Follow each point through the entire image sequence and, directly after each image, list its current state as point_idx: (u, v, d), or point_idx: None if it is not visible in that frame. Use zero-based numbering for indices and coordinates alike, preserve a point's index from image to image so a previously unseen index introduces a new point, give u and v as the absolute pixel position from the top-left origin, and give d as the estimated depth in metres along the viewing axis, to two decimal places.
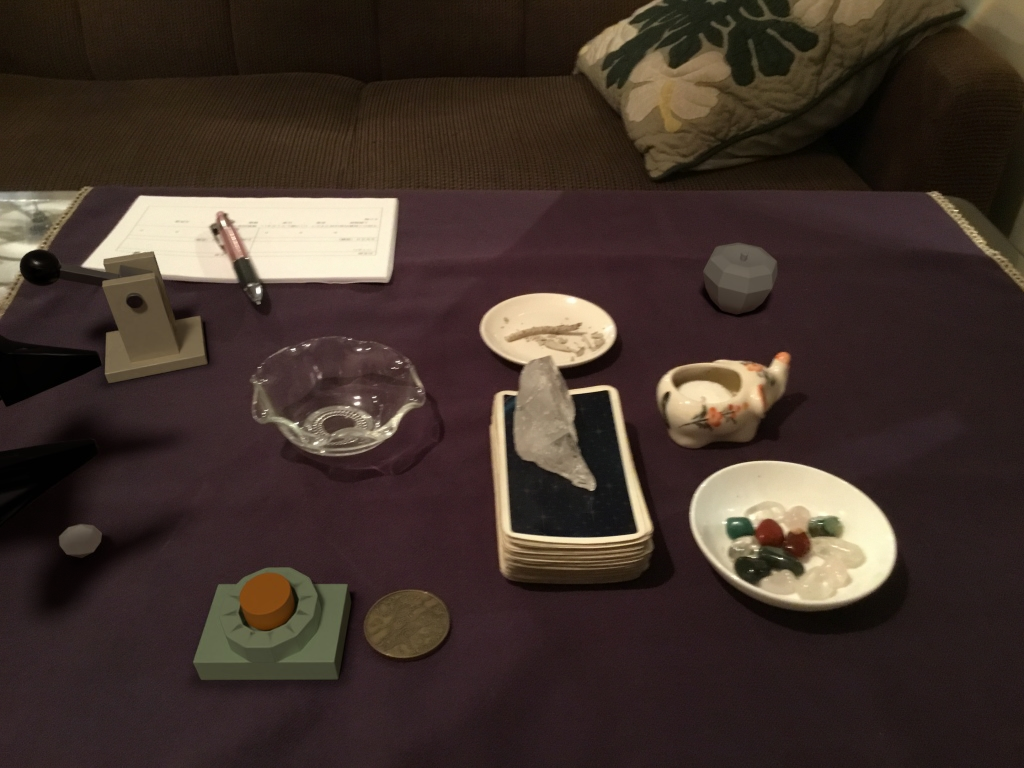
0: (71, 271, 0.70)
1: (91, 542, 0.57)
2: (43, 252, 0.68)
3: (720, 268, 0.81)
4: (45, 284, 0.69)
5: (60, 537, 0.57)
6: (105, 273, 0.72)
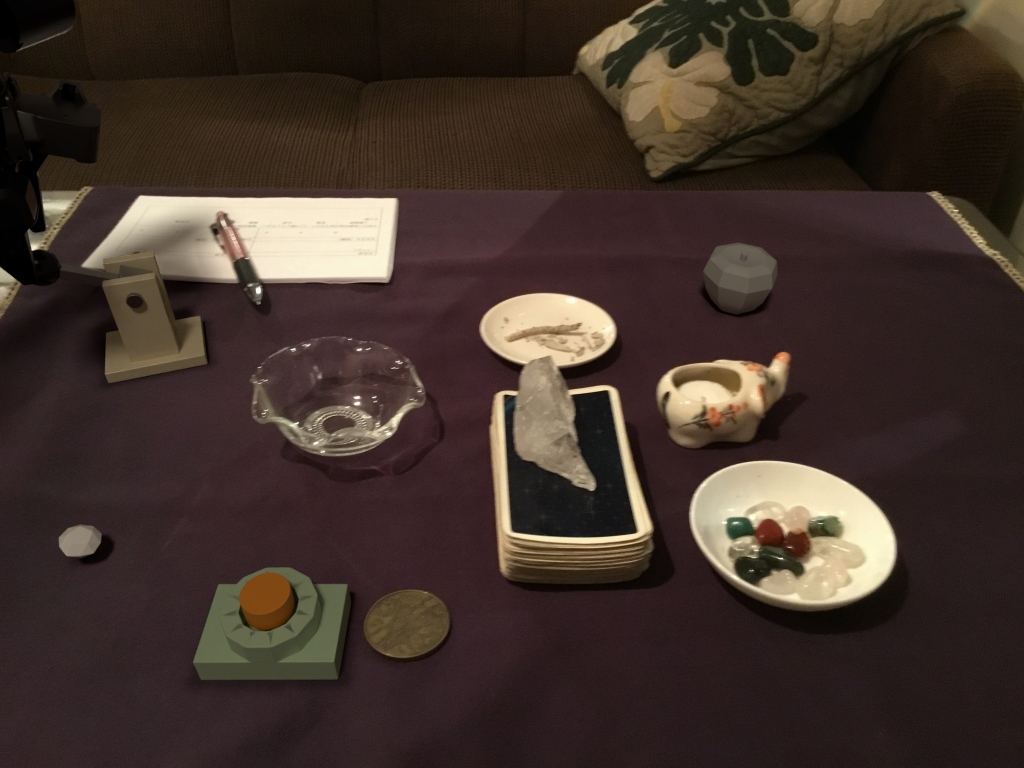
0: (71, 271, 0.70)
1: (91, 543, 0.57)
2: (43, 252, 0.68)
3: (720, 268, 0.81)
4: (45, 284, 0.69)
5: (60, 538, 0.57)
6: (105, 273, 0.72)
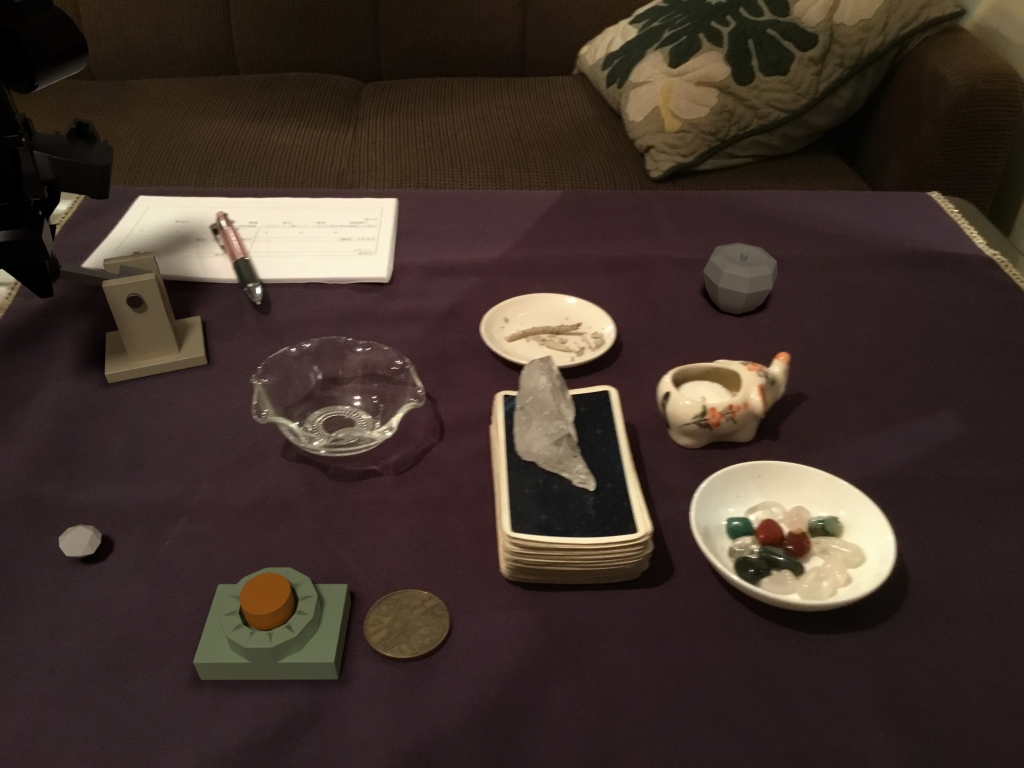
0: (71, 271, 0.70)
1: (91, 543, 0.57)
2: None
3: (720, 268, 0.81)
4: None
5: (60, 538, 0.57)
6: (105, 273, 0.72)
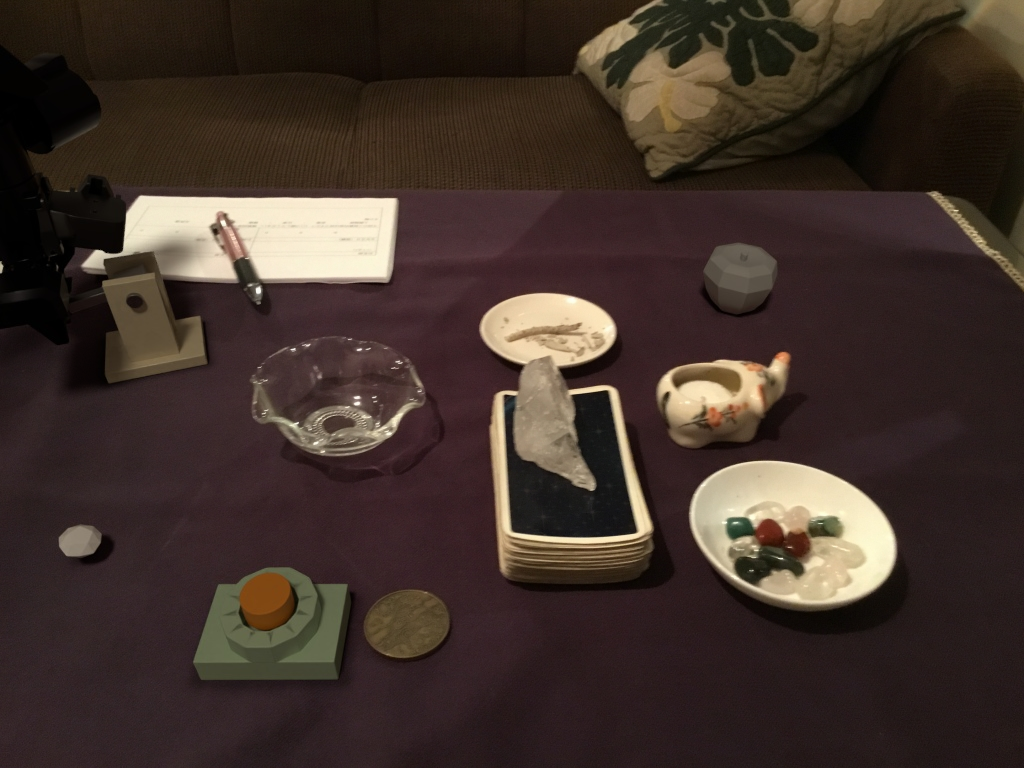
0: (75, 301, 0.72)
1: (91, 543, 0.57)
2: None
3: (720, 268, 0.81)
4: None
5: (60, 538, 0.57)
6: None
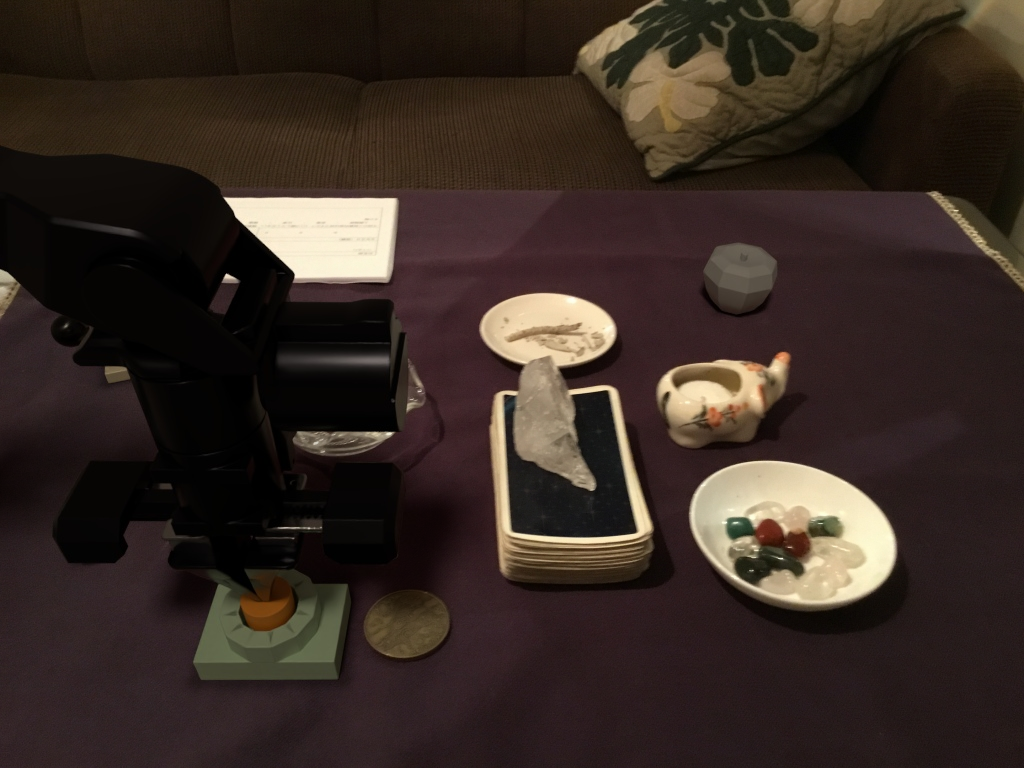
0: None
1: None
2: (56, 319, 0.72)
3: (720, 268, 0.81)
4: (81, 339, 0.73)
5: None
6: None
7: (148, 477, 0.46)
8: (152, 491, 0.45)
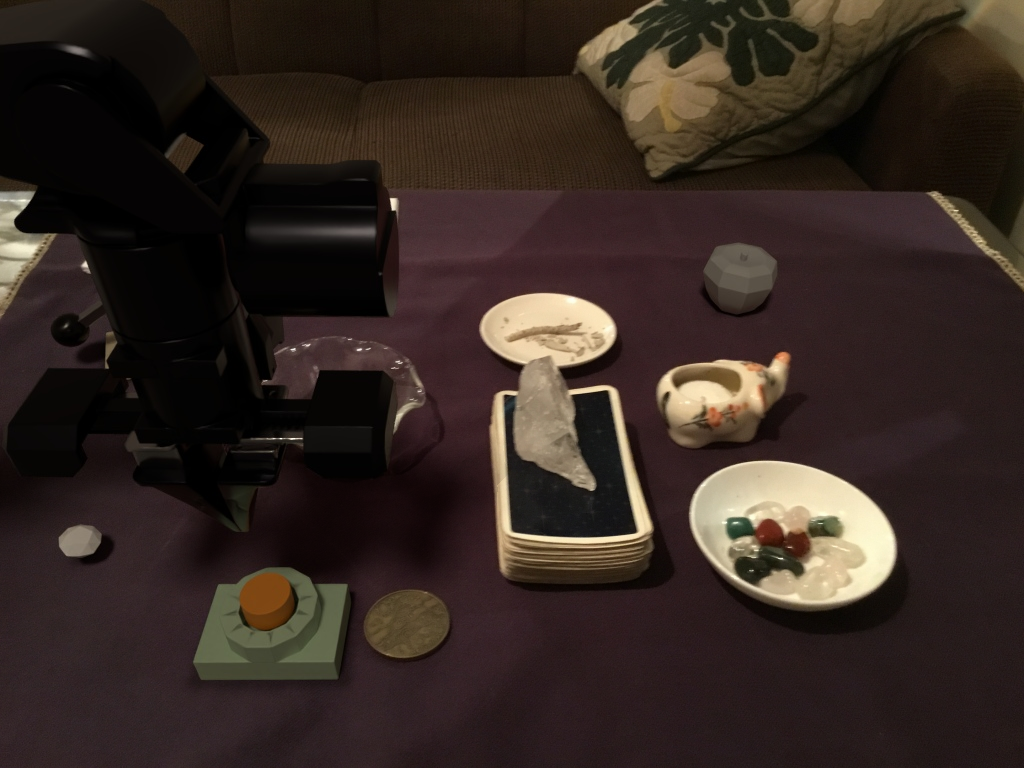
0: (86, 315, 0.73)
1: (91, 543, 0.57)
2: (56, 319, 0.72)
3: (720, 268, 0.81)
4: (81, 339, 0.73)
5: (60, 538, 0.57)
6: None
7: (112, 387, 0.42)
8: (115, 400, 0.40)
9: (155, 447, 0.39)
